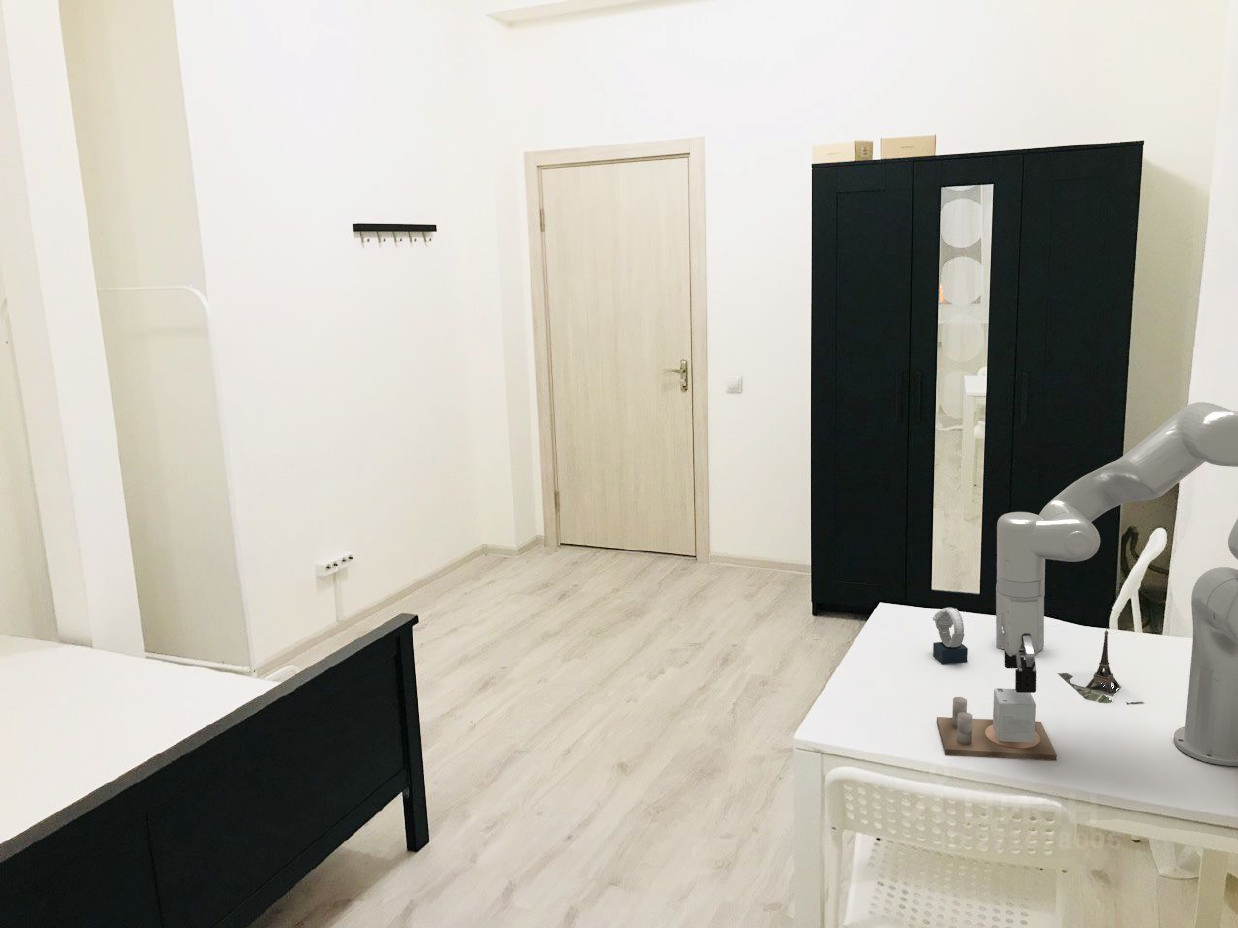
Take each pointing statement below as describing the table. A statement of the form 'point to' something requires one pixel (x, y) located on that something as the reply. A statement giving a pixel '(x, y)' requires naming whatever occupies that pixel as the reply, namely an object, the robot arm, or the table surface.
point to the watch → (949, 637)
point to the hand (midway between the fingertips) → (1019, 679)
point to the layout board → (987, 737)
